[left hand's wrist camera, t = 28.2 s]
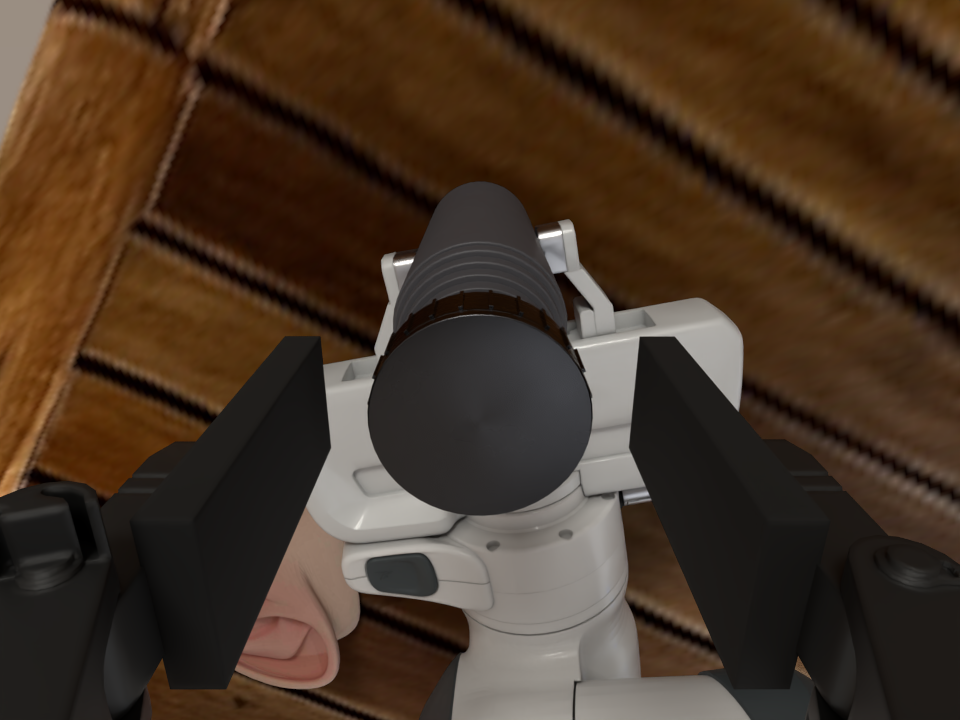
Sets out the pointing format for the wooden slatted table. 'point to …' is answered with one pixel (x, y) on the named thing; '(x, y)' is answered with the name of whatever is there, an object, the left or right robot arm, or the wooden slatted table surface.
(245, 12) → the wooden slatted table surface
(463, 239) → the bottle
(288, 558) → the anatomical model
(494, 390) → the cap
